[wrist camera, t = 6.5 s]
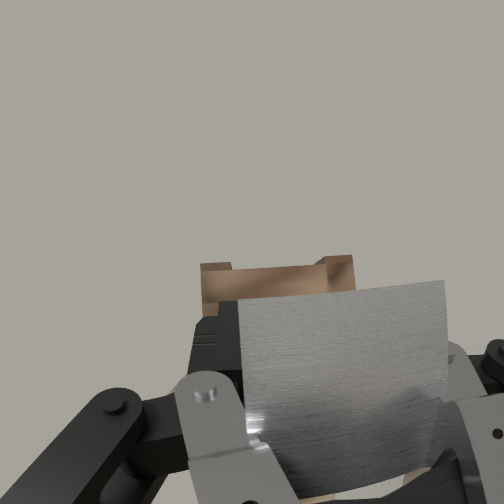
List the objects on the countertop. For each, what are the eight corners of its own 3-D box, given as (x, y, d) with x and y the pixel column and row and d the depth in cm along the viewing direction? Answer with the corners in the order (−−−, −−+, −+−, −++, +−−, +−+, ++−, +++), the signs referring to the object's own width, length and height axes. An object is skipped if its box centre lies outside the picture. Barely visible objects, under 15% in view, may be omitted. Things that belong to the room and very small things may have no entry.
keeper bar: (169, 502, 4) (142, 267, 5) (228, 351, 29) (225, 305, 29) (488, 436, 4) (488, 245, 5) (301, 346, 29) (298, 300, 30)
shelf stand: (209, 641, 7) (124, 267, 15) (216, 571, 21) (178, 288, 29) (367, 623, 8) (415, 250, 16) (338, 559, 22) (342, 278, 29)
